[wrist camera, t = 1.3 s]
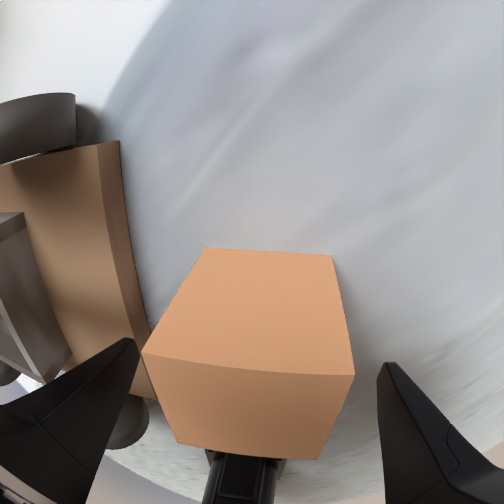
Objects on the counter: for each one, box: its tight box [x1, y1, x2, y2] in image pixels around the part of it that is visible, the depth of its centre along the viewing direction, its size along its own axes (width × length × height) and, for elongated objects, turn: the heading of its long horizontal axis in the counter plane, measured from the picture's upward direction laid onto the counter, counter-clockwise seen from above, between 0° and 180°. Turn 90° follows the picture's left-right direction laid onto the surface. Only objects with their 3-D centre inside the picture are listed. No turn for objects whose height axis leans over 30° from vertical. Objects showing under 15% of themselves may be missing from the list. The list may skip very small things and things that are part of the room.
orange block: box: [141, 248, 355, 460], centre depth 10 cm, size 5×5×6 cm
